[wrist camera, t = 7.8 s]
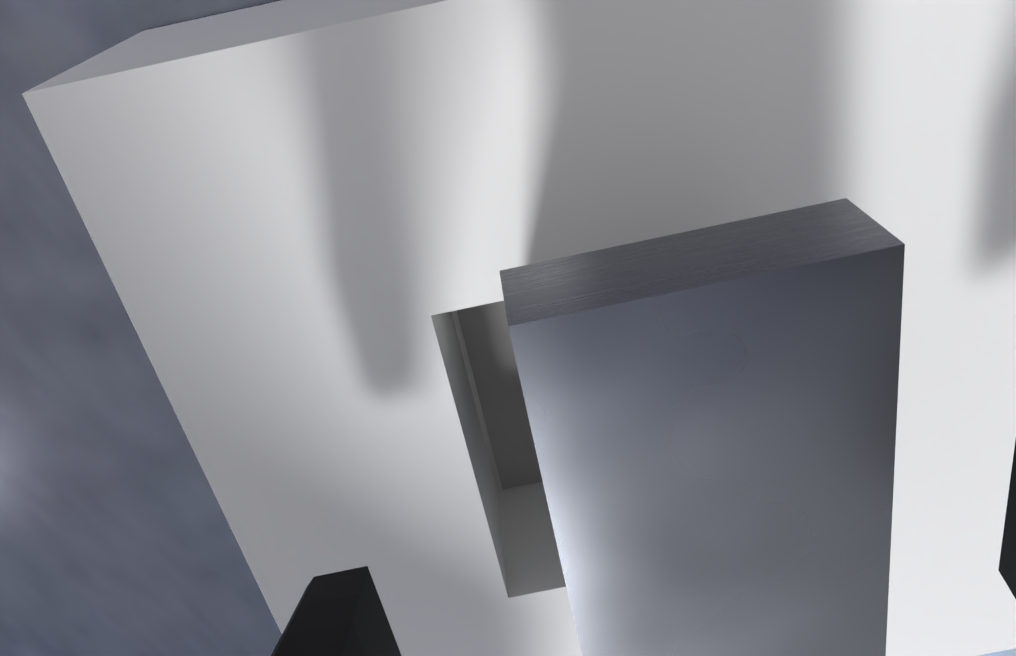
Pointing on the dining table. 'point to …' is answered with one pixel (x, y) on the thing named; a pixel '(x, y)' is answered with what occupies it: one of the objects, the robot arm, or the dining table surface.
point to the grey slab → (720, 432)
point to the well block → (530, 262)
